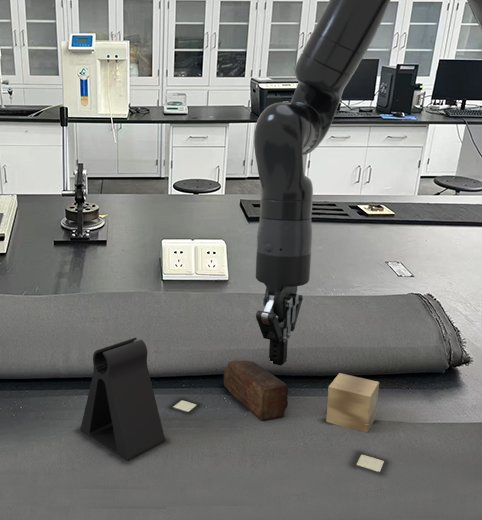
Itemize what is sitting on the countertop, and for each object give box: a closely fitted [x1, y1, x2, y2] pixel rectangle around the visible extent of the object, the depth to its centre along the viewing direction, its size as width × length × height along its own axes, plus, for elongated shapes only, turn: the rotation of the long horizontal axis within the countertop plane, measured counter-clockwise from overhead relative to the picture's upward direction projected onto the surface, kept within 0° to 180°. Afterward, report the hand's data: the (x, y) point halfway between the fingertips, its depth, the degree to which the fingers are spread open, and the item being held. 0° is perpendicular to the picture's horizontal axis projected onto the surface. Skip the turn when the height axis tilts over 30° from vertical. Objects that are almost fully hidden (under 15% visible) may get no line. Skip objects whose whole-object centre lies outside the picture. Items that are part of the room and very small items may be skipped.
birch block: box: [325, 372, 380, 434], centre depth 68 cm, size 5×5×5 cm
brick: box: [223, 359, 289, 422], centre depth 73 cm, size 11×4×5 cm, turn 19°
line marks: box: [172, 399, 385, 473], centre depth 66 cm, size 26×2×1 cm, turn 55°
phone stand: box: [79, 337, 166, 462], centre depth 64 cm, size 9×6×12 cm, turn 42°
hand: (277, 362), depth 79 cm, fingers closed
